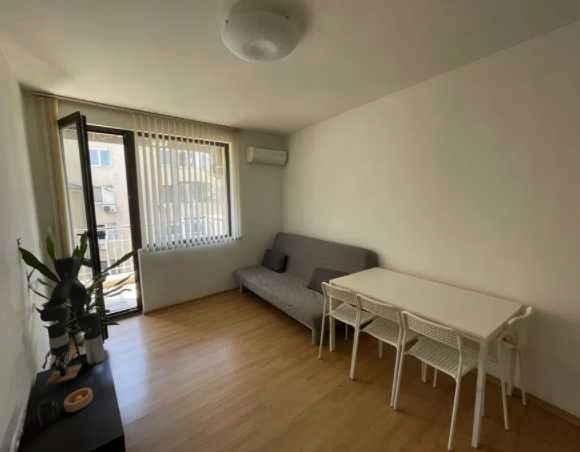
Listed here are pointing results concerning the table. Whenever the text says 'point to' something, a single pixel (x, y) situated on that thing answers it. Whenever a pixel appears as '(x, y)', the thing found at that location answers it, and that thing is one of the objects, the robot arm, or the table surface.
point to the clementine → (78, 398)
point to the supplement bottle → (48, 412)
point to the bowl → (74, 406)
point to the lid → (70, 374)
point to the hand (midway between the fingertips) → (64, 373)
